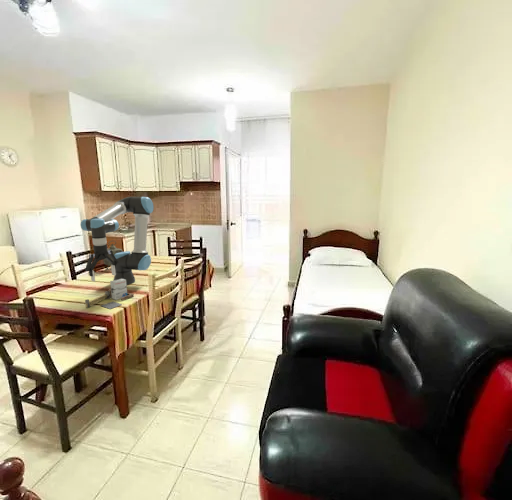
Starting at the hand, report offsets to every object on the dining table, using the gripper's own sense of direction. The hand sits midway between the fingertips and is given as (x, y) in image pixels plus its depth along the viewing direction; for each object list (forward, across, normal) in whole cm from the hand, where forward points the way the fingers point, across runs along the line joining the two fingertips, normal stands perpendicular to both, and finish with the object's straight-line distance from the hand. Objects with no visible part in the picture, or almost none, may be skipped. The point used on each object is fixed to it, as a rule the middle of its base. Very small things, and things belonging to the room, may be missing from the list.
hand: (103, 277), depth 188 cm
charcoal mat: (+16, +2, +8) cm, 18 cm away
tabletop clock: (+18, -50, -66) cm, 85 cm away
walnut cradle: (+16, -8, -1) cm, 18 cm away
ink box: (+16, -9, 0) cm, 19 cm away
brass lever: (+15, +4, -3) cm, 16 cm away
